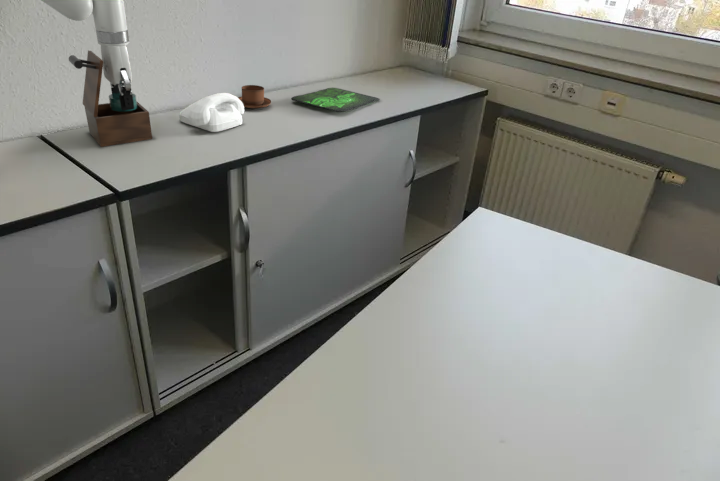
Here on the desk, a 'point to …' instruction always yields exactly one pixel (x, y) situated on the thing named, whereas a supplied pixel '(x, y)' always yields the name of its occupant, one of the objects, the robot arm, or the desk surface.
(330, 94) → the mouse mat
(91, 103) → the lid
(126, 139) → the box
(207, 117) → the telephone
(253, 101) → the cup and saucer
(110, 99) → the teal short cylinder
